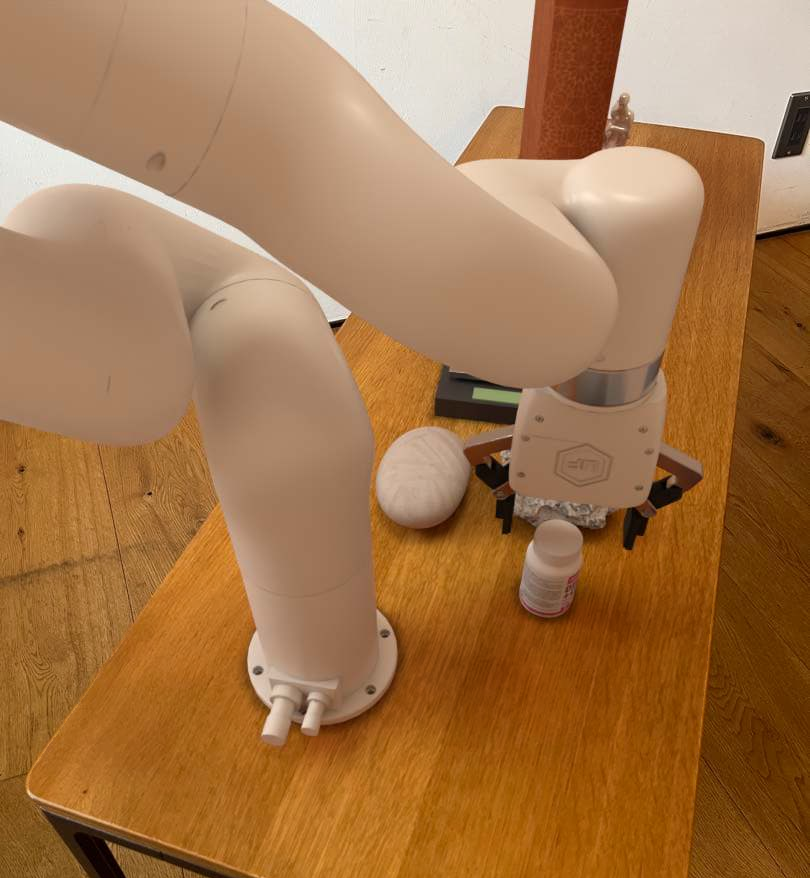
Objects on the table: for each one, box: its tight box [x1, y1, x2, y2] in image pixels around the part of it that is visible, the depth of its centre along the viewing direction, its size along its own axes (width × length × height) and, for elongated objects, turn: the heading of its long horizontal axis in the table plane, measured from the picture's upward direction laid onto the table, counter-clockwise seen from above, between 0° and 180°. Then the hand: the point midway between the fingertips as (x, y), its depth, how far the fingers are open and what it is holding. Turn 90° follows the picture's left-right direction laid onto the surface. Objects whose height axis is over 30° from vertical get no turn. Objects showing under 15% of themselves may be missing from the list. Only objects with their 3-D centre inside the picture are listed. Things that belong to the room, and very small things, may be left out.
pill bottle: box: [518, 520, 584, 618], centre depth 68 cm, size 5×5×8 cm
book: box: [518, 0, 630, 160], centre depth 104 cm, size 23×8×30 cm, turn 178°
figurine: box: [602, 92, 635, 149], centre depth 118 cm, size 5×9×12 cm, turn 157°
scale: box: [434, 364, 523, 425], centre depth 89 cm, size 15×14×3 cm
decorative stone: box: [375, 425, 472, 530], centre depth 77 cm, size 13×9×5 cm
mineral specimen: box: [499, 449, 621, 530], centre depth 76 cm, size 6×11×12 cm
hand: (566, 529), depth 64 cm, fingers open, 9 cm apart
